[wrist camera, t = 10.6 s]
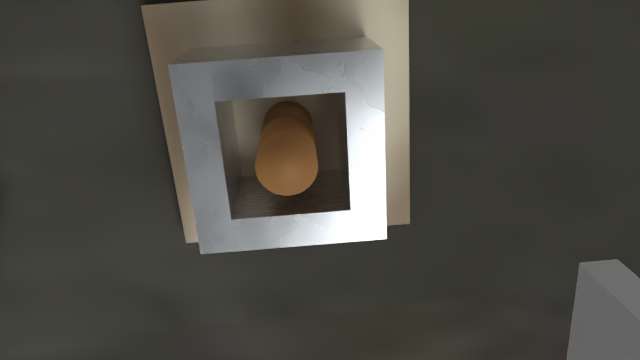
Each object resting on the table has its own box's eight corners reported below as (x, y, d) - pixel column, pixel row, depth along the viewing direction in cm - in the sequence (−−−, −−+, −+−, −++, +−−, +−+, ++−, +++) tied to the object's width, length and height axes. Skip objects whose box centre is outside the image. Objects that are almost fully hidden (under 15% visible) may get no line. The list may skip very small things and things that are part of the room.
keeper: (189, 234, 28) (158, 311, 21) (146, 4, 23) (91, 14, 17) (406, 215, 28) (439, 286, 22) (403, -16, 24) (445, -14, 17)
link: (216, 205, 26) (200, 254, 22) (192, 47, 23) (167, 64, 19) (370, 193, 26) (386, 238, 22) (365, 35, 24) (383, 49, 19)
